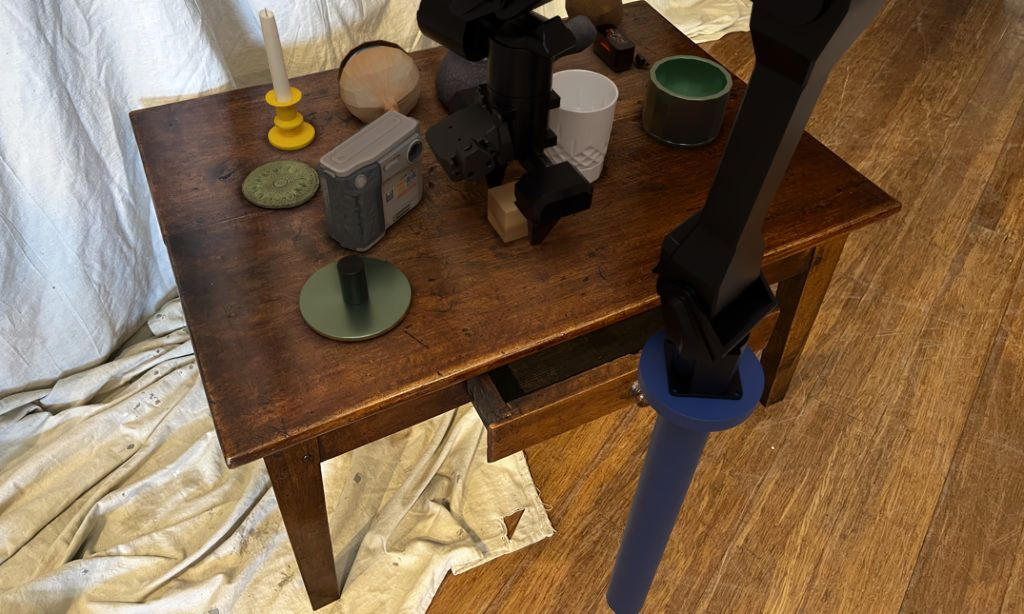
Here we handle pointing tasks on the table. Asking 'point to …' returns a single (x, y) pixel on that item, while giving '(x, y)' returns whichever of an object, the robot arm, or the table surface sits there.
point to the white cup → (582, 120)
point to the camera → (371, 180)
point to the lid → (355, 298)
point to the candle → (283, 93)
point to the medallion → (281, 184)
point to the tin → (685, 101)
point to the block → (506, 213)
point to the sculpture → (378, 80)
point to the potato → (596, 11)
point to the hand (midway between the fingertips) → (514, 216)
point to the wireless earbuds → (616, 48)
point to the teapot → (469, 74)
